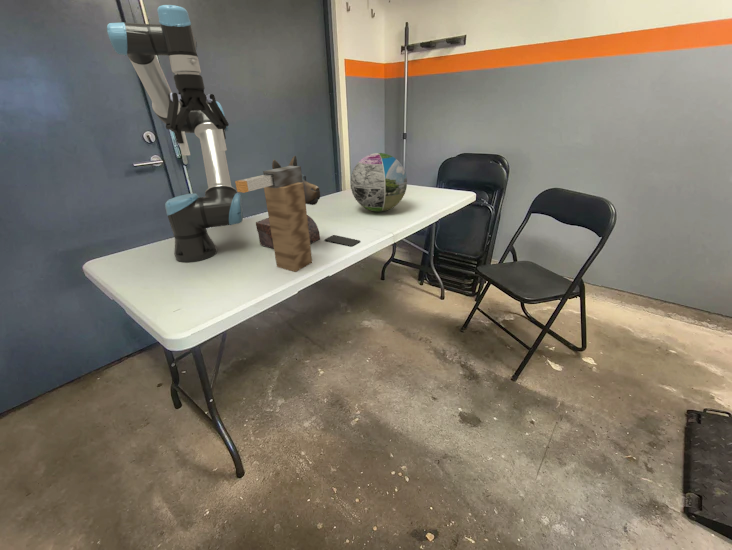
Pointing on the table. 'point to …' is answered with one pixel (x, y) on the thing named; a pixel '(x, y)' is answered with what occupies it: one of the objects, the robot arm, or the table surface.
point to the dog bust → (310, 198)
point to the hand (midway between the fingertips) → (205, 152)
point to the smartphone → (342, 240)
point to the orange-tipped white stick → (254, 183)
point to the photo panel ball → (378, 182)
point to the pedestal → (288, 218)
